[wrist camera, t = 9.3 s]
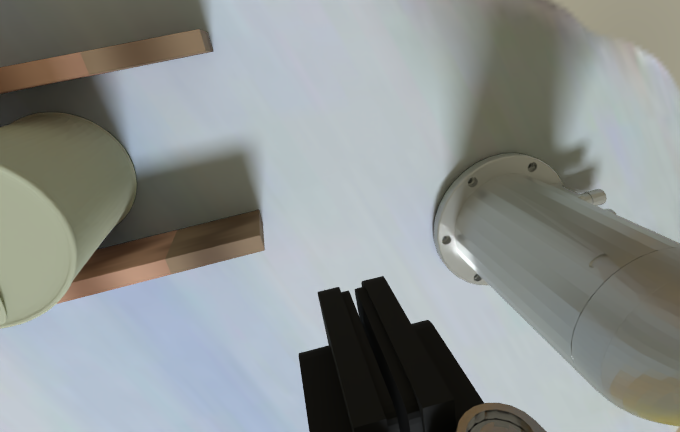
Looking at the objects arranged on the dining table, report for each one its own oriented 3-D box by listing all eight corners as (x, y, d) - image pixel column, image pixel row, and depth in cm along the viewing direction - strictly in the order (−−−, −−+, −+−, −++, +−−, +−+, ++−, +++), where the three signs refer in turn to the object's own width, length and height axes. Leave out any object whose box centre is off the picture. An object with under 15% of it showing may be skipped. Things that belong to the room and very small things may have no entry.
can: (20, 245, 30) (-109, 354, 19) (-33, 119, 27) (-228, 166, 16) (151, 226, 32) (98, 319, 21) (117, 104, 28) (32, 139, 17)
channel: (207, 32, 28) (199, 29, 23) (262, 223, 33) (264, 250, 29) (-55, 83, 26) (-120, 90, 21) (51, 275, 32) (18, 313, 27)
